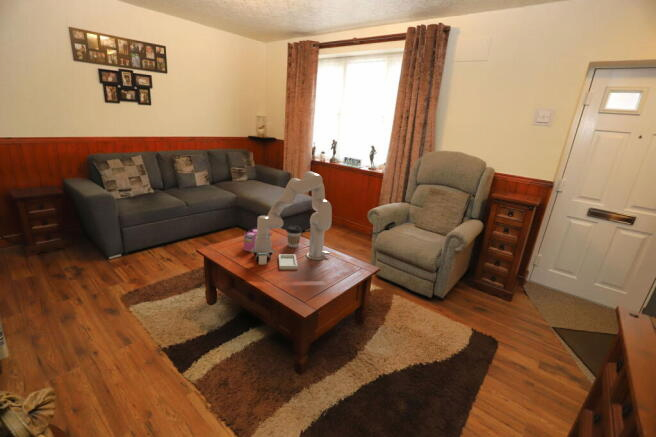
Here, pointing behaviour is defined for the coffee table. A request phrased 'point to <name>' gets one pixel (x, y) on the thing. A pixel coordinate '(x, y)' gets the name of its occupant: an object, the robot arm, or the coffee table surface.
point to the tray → (287, 262)
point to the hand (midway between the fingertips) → (262, 261)
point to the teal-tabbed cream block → (262, 258)
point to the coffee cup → (293, 236)
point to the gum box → (250, 239)
